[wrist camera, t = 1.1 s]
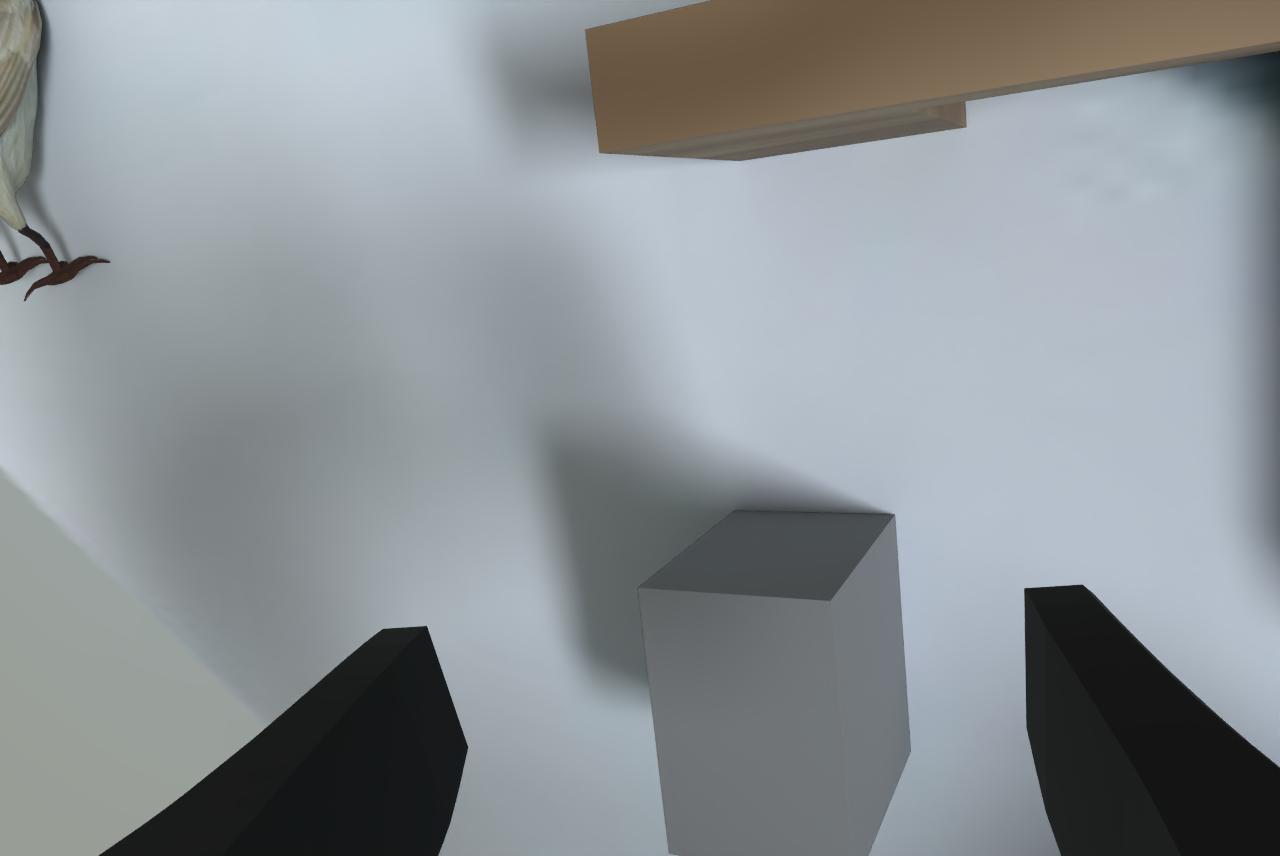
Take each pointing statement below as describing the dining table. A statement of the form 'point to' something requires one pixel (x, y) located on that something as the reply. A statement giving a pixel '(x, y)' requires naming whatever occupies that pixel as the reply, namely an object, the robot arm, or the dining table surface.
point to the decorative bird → (23, 136)
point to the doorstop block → (778, 684)
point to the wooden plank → (877, 65)
